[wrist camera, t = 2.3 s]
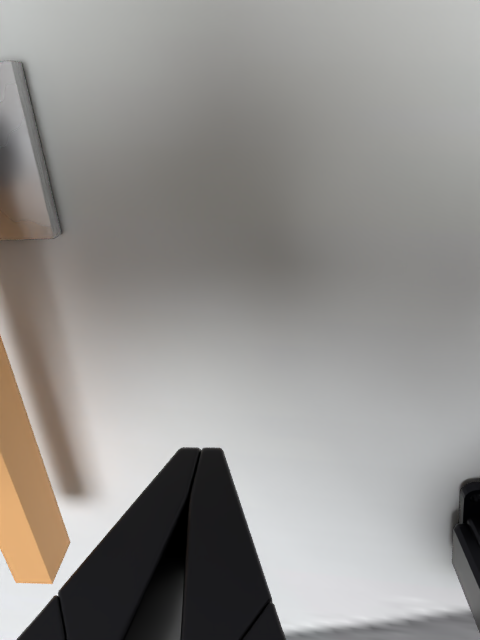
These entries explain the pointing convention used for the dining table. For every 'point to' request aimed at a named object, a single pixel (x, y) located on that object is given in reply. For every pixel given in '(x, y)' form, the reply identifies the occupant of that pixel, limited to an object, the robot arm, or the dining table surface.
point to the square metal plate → (22, 164)
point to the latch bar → (25, 493)
